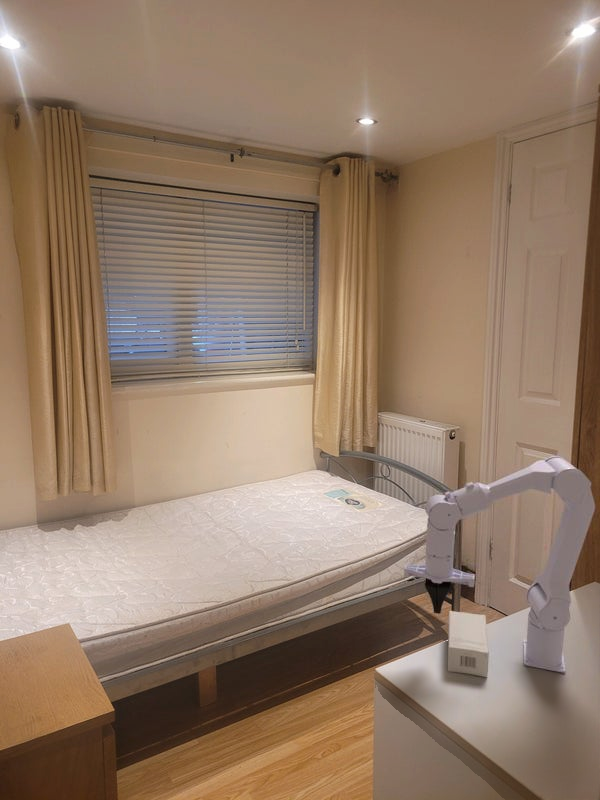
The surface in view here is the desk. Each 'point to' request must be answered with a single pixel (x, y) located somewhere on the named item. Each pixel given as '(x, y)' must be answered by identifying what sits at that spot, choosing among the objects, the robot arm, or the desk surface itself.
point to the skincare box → (468, 644)
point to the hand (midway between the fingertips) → (437, 611)
